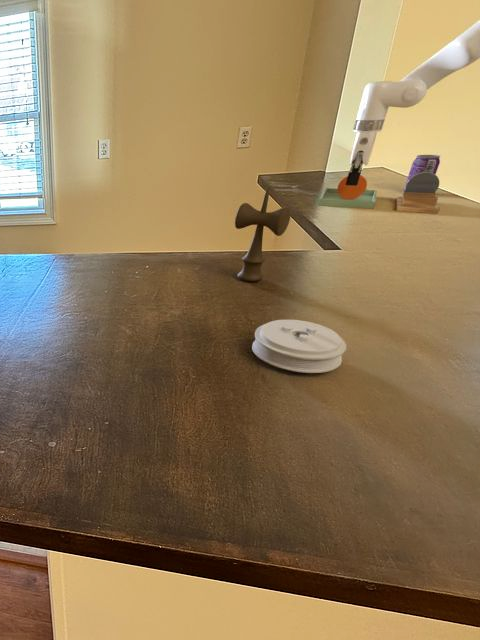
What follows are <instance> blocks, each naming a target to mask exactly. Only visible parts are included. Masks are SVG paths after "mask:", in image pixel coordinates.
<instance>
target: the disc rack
mask: <svg viewBox="0 0 480 640" xmlns="http://www.w3.org/2000/svg"><path fill="white" fill-rule="evenodd" d="M395 199H396V200H395V206H396V209H395V211H396V212H403V213H404V212H406V213H420V212H422V213H423V214H439V212H440V206H439V203H438V200H439V199H438V196H437V191H436V192H435V193H412V192H406V191H403V192H402V195H401V196H397V197H396V198H395ZM422 213H421V214H422Z"/></svg>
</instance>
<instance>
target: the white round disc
mask: <svg viewBox="0 0 480 640" xmlns="http://www.w3.org/2000/svg"><path fill="white" fill-rule="evenodd" d="M254 338H255V340H254V341H253V342H252V345H251V350H252V352H253V353H254V355H255V356H256V357H257V358H259V359H260V360H262V362H265V363H267V364H269V365H271V366H274V367H275V368H280V369H283V370H286V371H291V372H296V373H303V374H304V373H305V374H321V373H327V372H331V371H334V370H336V369H338V368H339V367H340V366H341V365H342V363H343V358H342V356H343V355H344V354H345V352H346V350H347V342H346V341H345V339H343V338H342V337H341V336H340V335H339V334H338V333H337V332H336V331H334V330H333V329H331V328H329V327H327V326H325V325H322V324H317V323H315V322H311V321H306V320H299V319H277V320H272V321H269V322H267V323H265V324H264V323H263V324H262V325H260V326H258V327H257V328H256V329H255V331H254Z"/></svg>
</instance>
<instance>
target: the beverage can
mask: <svg viewBox="0 0 480 640" xmlns="http://www.w3.org/2000/svg"><path fill="white" fill-rule="evenodd" d="M440 158H441V155H438V154H419V155H416V158H414V160H413V161H412V164H411V166H410V169H409V171H408V175H407V177H406V181H405V184H404V187H403V192H404V191H406V184H407V182H408V181H409V179H410V178H412V177H413V176H414V175H416V174H418V173H422V172H431V173H434V174H435V175H436V176H437V172H438V169H439V166H440V163H441V160H440Z"/></svg>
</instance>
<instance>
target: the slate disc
mask: <svg viewBox="0 0 480 640" xmlns="http://www.w3.org/2000/svg"><path fill="white" fill-rule="evenodd" d="M405 184H406V183H405ZM439 187H440V178H439V177H438V176H437V174H436V175H435V174H434V173H431V172H422V173H418V174H416V175H414V176H413V177H412V178H410V179H409V181H408V182H407V184H406V192H412V193H435V192H436V193H437V190H438V188H439Z"/></svg>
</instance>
